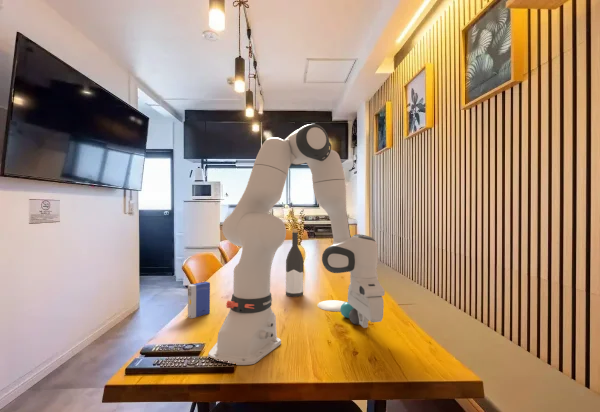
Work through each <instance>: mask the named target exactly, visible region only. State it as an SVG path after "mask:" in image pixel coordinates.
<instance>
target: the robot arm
mask: <svg viewBox="0 0 600 412" xmlns="http://www.w3.org/2000/svg"><path fill="white" fill-rule="evenodd" d="M303 164H306V165H307V166H308V168H309V169H310V172H311V180H312V188H313V193H314V197H315V200H316V203H317V204H318V205H319V206H320V207H321V208H322V209H323V210H324V211H325V212H326V213H327V215H328V217H329V221H330V226H331V232H332V238H333V241H332V244H331V245H329V246H328V247H327V248H325V249H324V250H323V252H322V256H321V262H322V266H324V268H325V270H326V271H328V272H330V273H332V274H342V273H350V275H349V276H350V277H349V278H350V279H349V280H350V281H349V282H350V283H349V285H348V291H347V302H348V303H349V304H350V305H351V306H352V307H353V308H355V309H356V310H357V311H358V317H359V325H360V327H362V328H363V329H366V328H368V327H369V322H371V323H379V322H382V321H383V317H384V306H385V305H384V298H383V297H384V296H385V295H386V293H385V288H384V287H383V286H382V285H381V282H380V281H379V280H378V278H379V275H378V270H377V269H378V268H377V267H378V264H379V263H378V262H379V254H378V253H379V251H378V244H377V241H376V239H375V238H374V237H372V236H369V235H365V234H360V233H359V234H358V233H357V234H356V233H355V234H353V235H352V236H351V230H350V224H349V219H348V218H349V217H348V213H347V212H348V211H347V189H346V187H347V186H346V177H345V172H344V167H343V163H342V159H341V157H340V154H339V153H338V152H337V151H336V150H333V149H332V144H331V142H330V138H329V135H328V133H327V132H326V130H325V128H323V127H322V126H321V125H319V124H316V123H311V124H305V125H303V126H301V127H300V128H298V129H295V130H294V131H293V132H291V133H290V134H289V135H288V136H286V138H284V139H282V138H280V137H275V136H274V137H269V138H266V139H265V141H264V142H263V143H262V145H261V147H260V149H259V151H258V153H257V155H256V158H255V161H254V163H253V165H252V166H253V167H252V170H251V173H250V176H249V178H248V182H247V185H246V187H245V190H244V191H243V194H242V195H241V197H240V199H239V201H238V202H237V204H236V206H235V207H234V209H233V211H232V212H231V213H230V214H229V215H228V216H227V217H226V218H225V219H224V221H223V223H222V226H221V227H222V228H221V229H222V234H223V237H224V238H225V239H226V240H227V241H228V242H229V243H231V244H233V245H234V246H236V247H237V246H238V247H241V248H242V249H241V255H240V259H239V261H238V263H237V264H236V265H235V266H234V269H233V292H232V295H231V299H230V300H227V301H226V304H225V306H226V309H230V310H229V312H228V314H227V316H226V317H225V319H224V320H223V324H222V325H221V327H220V329H219V331H218V335H217V341H216V343H214V345H213V347H212V348H211V349H210V350H209V352H208V355H207V357H208V358H209V357H211V358H214V359H219V360H224V361H229V362H235V363H236V366H248V365H255V364H256V363H258V362H259V361H260V360H262V359H263V358H264V357H265V356H267V355H268V354H270V353H271V352H272V351H274V350H275V349H276V348H278V347H279V346H280V345H282V339H280V338H279V337H278V334H277V333H278V332H277V317H276V314H275V312H274V311H273V309H272V303H273V302H272V300H273V298H272V293H271V275H272V274H271V273H272V271H271V270H272V267H273V266H272V265H273V261H274V257H275V256H276V255H275V254H276V253H277V250H278V249H279V248H280V247H281V246H282V245H283V244H284V242H285V241H286V237H287V229H286V225H285V223H284V221H283V220H282V219H281V218H279V217H277V216H275V215H273V214H271V213H270V212H271V210H272V209H273V207H274V206H275V205H276V204H278V202H279V201H280V200H281V198H282V194H283V192H284V187H285V185H286V180H287V177H288V174H289V168H290V167H291V166H294V167H295V166H301V165H303Z"/></svg>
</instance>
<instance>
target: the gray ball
mask: <svg viewBox="0 0 600 412" xmlns="http://www.w3.org/2000/svg"><path fill="white" fill-rule="evenodd" d="M348 319H349V320H350V322H351V323H352V324H354V325H356V326H359V325H360V324H359V317H358V311H357V310H356V309H355V308H353V309H352V310H351V311H350V313H349V318H348Z"/></svg>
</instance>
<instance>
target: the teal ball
mask: <svg viewBox="0 0 600 412" xmlns="http://www.w3.org/2000/svg"><path fill="white" fill-rule="evenodd" d="M344 302H345V303H343V304H342V305H341V308H340V311H339V312H340V313H341V315H342V316H343V318H347V319H350V318H349V313H350V311H351V310H352V309H353V307H352V306H351V305H350V304H349V303H348V301H344Z"/></svg>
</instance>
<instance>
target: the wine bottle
mask: <svg viewBox="0 0 600 412" xmlns="http://www.w3.org/2000/svg"><path fill="white" fill-rule="evenodd" d="M298 236H299V233H298V229H297V228H296V229H295V228H293V229H292V240H291V242H292V243H291V245H292V246H291V247H290V249H289V251H288V254H287V256H286V260H285V294H286V296H287V297H292V298H296V297H297V298H298V297H302V296H303V295H304V264H305V263H304V257H303V254H302V251H301V250H300V247H299V245H298V243H299V242H298V240H299V239H298V238H299V237H298Z"/></svg>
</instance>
